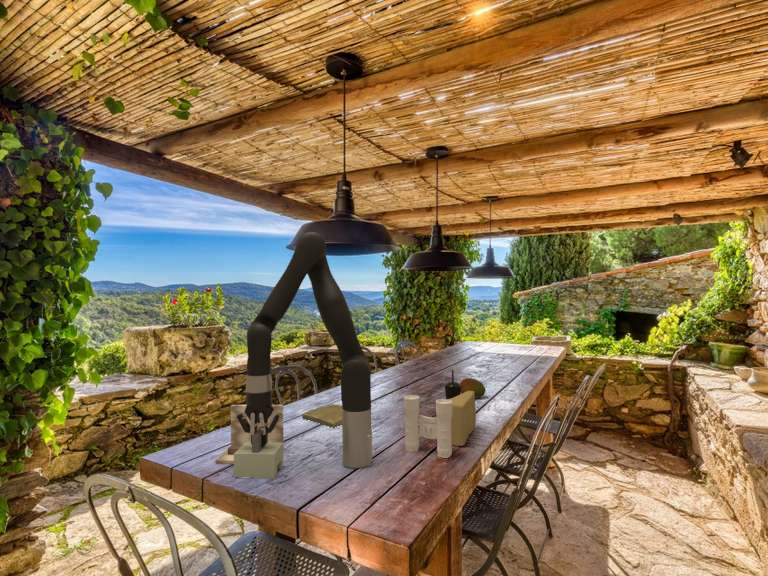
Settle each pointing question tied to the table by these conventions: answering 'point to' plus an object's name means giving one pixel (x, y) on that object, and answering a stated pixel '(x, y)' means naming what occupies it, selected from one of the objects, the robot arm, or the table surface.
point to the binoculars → (428, 425)
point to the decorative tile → (325, 415)
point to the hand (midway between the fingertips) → (259, 445)
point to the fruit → (473, 387)
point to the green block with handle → (258, 458)
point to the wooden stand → (241, 437)
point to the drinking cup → (452, 388)
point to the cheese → (462, 417)
